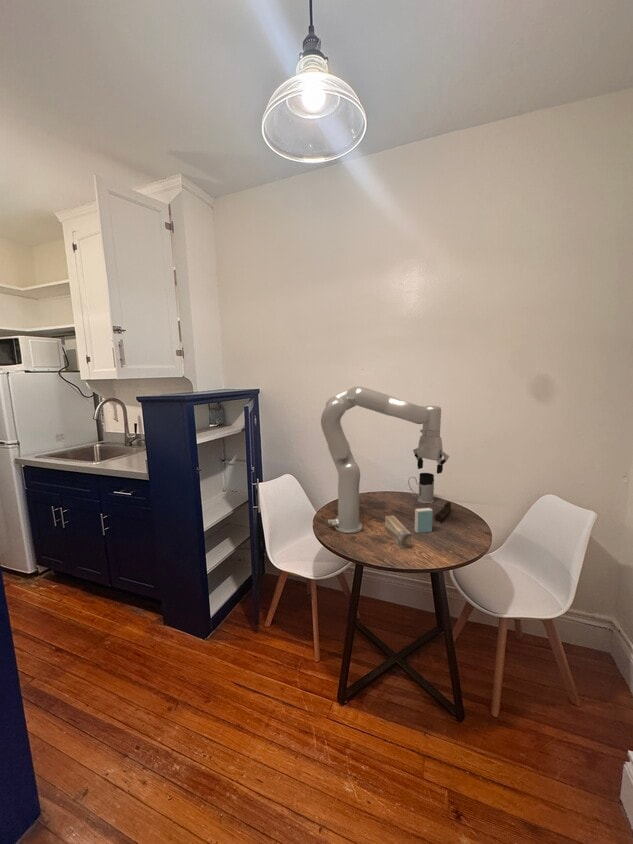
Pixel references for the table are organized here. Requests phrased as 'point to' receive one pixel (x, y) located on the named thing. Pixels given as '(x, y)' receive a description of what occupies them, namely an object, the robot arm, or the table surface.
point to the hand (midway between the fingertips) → (429, 470)
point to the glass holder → (425, 487)
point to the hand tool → (443, 512)
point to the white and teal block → (423, 520)
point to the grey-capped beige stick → (398, 532)
